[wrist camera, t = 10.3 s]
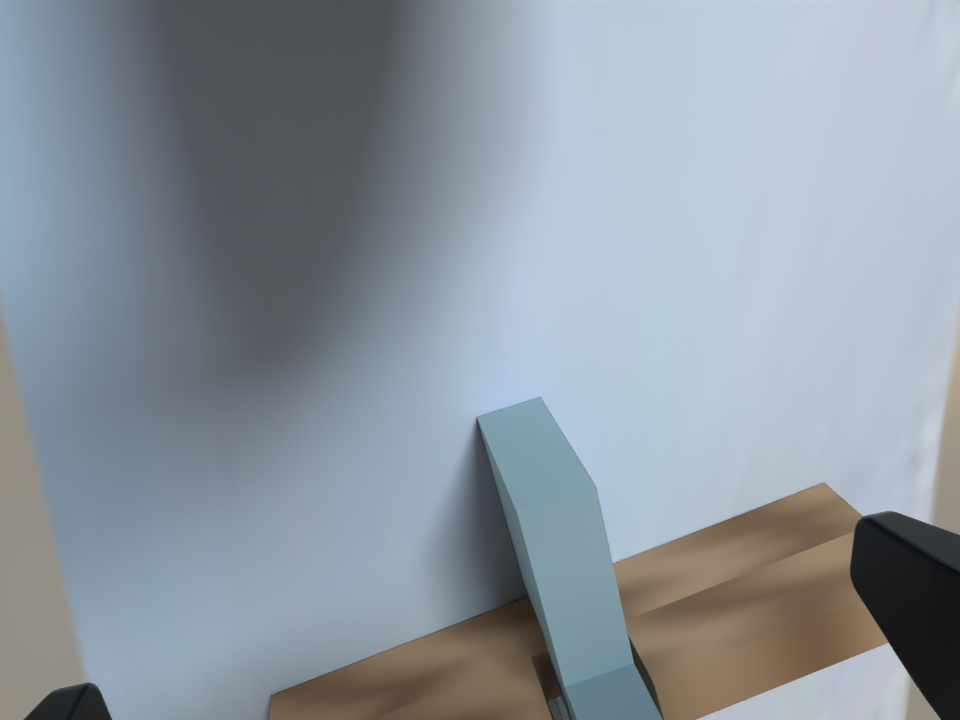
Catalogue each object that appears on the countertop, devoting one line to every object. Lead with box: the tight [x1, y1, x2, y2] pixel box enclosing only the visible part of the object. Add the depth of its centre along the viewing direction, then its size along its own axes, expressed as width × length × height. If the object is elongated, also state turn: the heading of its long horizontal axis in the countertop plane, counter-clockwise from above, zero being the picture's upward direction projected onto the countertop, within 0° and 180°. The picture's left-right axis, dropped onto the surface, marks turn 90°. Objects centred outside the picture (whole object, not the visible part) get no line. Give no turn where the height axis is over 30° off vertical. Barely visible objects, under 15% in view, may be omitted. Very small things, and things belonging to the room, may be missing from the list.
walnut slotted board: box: [269, 483, 889, 720], centre depth 24 cm, size 20×2×5 cm, turn 107°
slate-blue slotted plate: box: [477, 397, 663, 720], centre depth 22 cm, size 16×2×8 cm, turn 14°
